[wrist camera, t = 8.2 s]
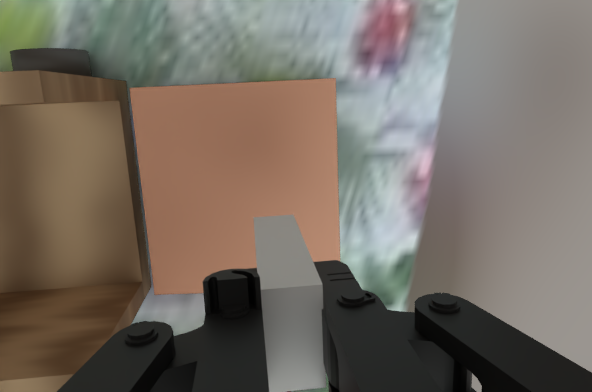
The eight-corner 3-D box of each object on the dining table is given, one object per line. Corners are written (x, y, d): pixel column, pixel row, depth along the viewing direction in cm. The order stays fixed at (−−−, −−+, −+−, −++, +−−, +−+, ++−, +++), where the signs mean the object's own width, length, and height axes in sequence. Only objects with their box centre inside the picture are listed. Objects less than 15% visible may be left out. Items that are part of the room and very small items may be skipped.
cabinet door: (154, 294, 29) (340, 287, 29) (129, 87, 26) (335, 78, 26) (162, 284, 31) (338, 278, 30) (139, 88, 28) (333, 79, 28)
